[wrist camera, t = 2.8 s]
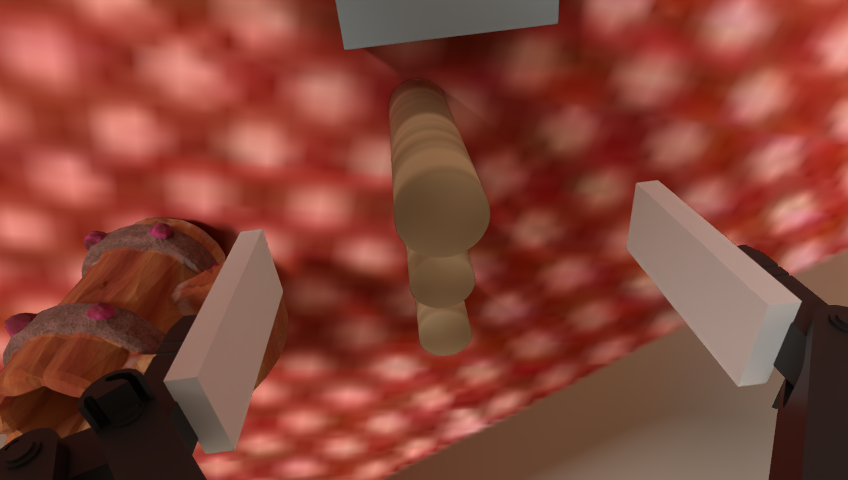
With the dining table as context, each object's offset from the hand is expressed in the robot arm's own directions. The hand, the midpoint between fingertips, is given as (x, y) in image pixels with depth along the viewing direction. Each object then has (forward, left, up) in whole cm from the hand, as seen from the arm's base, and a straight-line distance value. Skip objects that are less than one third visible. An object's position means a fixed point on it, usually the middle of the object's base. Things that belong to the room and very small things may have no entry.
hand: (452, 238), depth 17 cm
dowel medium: (+7, 0, -15) cm, 17 cm away
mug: (+8, -16, -15) cm, 24 cm away
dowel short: (+14, 0, -15) cm, 20 cm away
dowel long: (0, 0, -15) cm, 15 cm away
